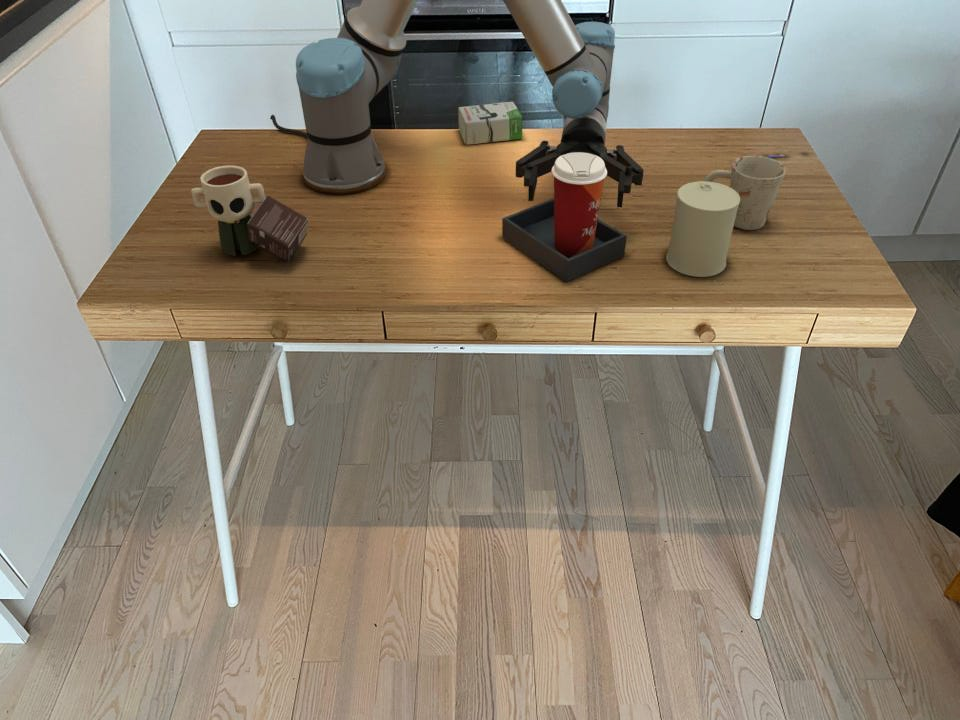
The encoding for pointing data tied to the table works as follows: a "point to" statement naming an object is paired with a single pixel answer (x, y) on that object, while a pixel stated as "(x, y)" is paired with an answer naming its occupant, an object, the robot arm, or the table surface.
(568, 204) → the coffee cup
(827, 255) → the table surface
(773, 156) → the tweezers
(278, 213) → the box
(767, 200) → the mug
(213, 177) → the character mug
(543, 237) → the tray
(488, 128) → the ink box
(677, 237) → the can
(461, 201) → the table surface
